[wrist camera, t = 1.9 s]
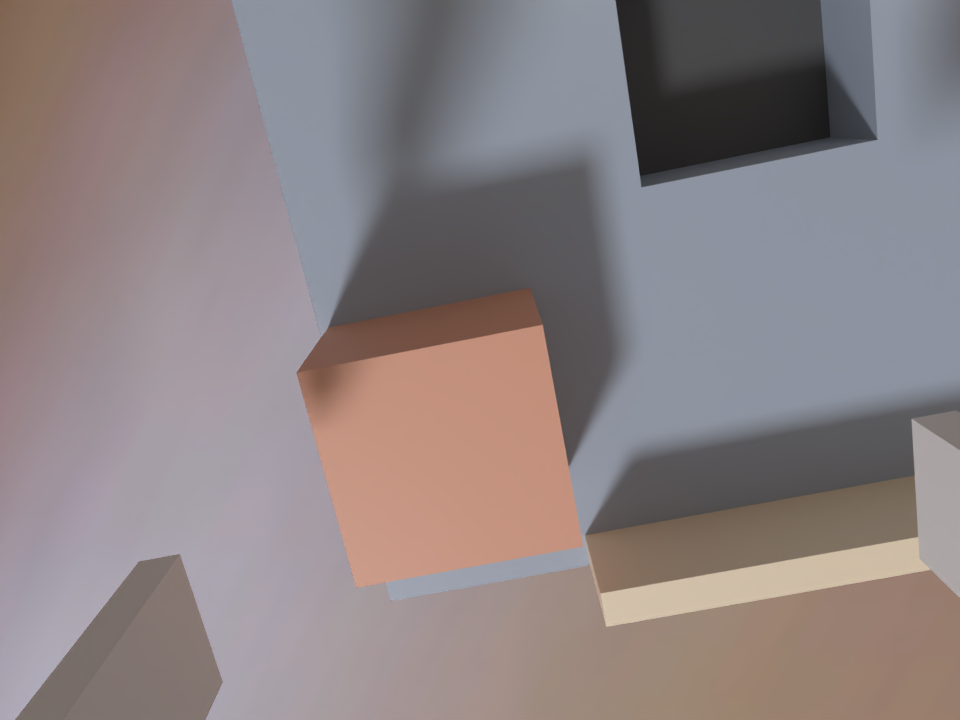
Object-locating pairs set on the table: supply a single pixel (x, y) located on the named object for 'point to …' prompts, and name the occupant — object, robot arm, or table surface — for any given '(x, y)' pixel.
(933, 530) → the robot arm
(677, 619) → the table surface
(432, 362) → the block
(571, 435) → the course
